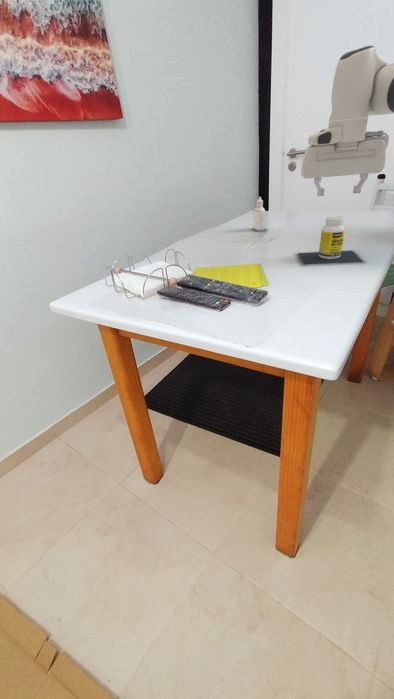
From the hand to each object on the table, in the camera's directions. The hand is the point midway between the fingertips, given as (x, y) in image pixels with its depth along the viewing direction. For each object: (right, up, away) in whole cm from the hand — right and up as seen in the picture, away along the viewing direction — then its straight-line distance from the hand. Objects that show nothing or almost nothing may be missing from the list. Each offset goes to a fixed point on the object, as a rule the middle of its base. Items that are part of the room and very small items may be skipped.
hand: (338, 194), depth 91 cm
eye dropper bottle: (-13, +6, +44) cm, 46 cm away
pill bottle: (+1, -15, +9) cm, 17 cm away
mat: (+1, -15, +9) cm, 17 cm away
